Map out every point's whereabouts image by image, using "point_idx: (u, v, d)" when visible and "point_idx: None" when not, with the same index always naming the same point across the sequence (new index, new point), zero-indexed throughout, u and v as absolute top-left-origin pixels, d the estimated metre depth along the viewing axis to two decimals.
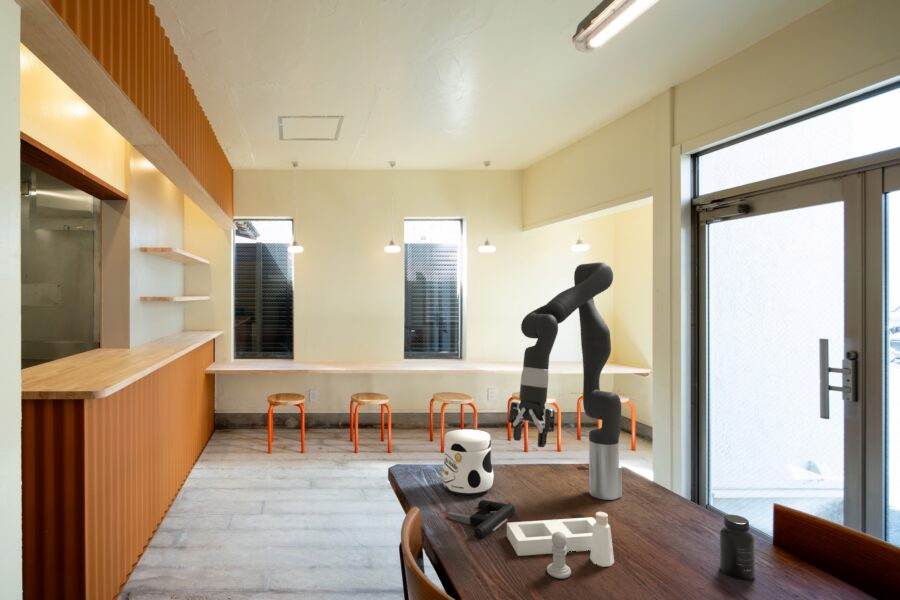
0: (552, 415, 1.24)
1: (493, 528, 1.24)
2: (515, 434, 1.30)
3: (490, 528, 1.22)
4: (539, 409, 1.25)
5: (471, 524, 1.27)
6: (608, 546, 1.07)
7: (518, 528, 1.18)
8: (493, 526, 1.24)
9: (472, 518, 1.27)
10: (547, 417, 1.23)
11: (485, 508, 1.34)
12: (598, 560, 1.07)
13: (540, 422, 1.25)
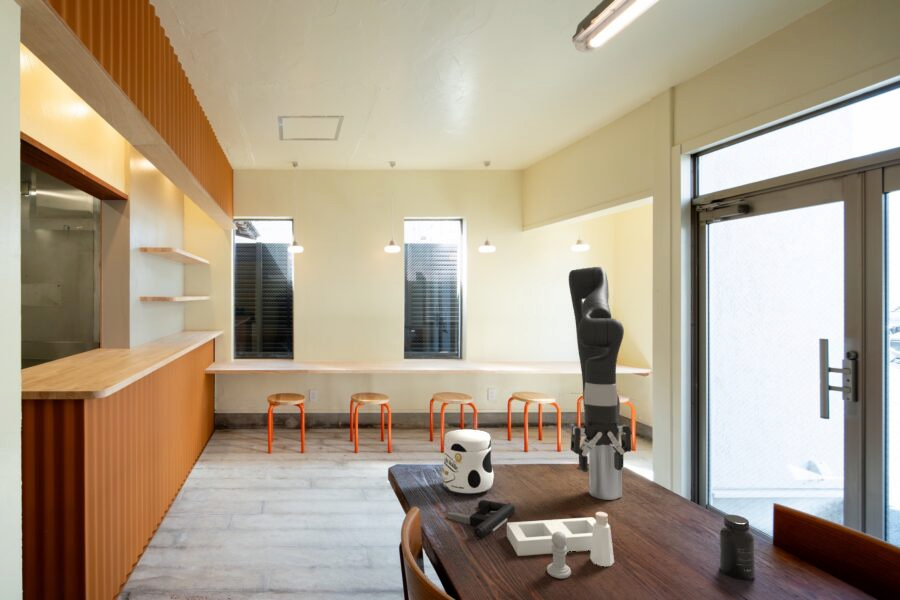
0: None
1: (493, 528, 1.24)
2: (586, 465, 1.08)
3: (490, 528, 1.22)
4: (616, 429, 1.10)
5: (471, 524, 1.27)
6: (608, 546, 1.07)
7: (518, 528, 1.18)
8: (493, 526, 1.24)
9: (472, 518, 1.27)
10: (628, 435, 1.10)
11: (485, 508, 1.34)
12: (598, 560, 1.07)
13: None
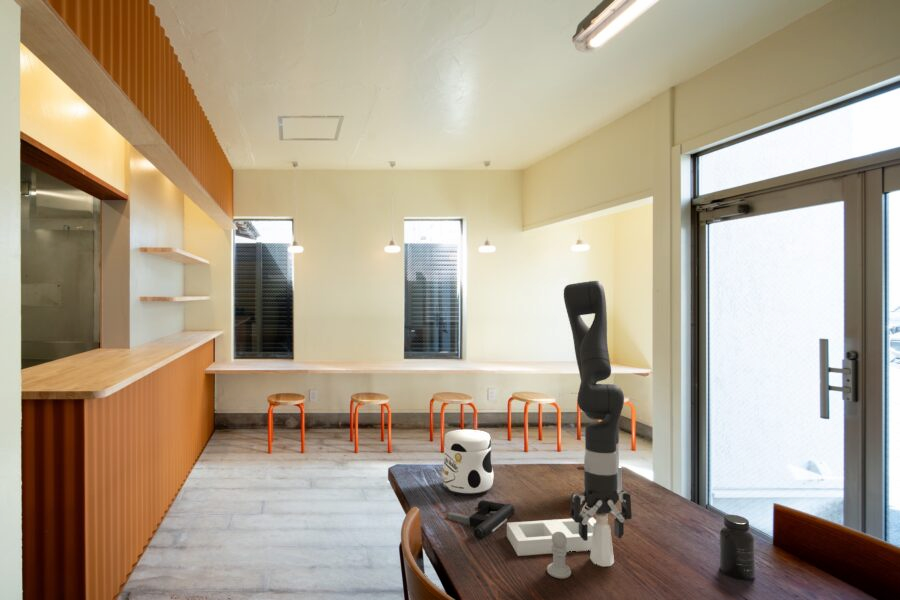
0: None
1: (492, 528, 1.24)
2: (586, 534, 1.08)
3: (489, 528, 1.22)
4: (617, 496, 1.09)
5: (470, 524, 1.27)
6: (608, 546, 1.07)
7: (518, 528, 1.18)
8: (492, 526, 1.23)
9: (471, 518, 1.27)
10: (628, 503, 1.09)
11: (485, 509, 1.34)
12: (598, 560, 1.07)
13: None
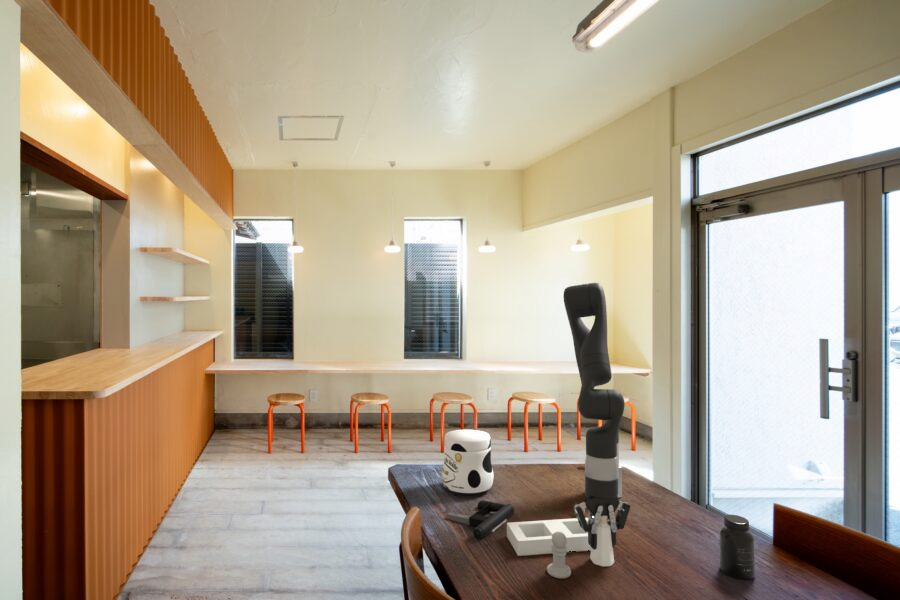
0: None
1: (492, 529, 1.23)
2: (595, 542, 1.08)
3: (489, 529, 1.22)
4: (617, 502, 1.09)
5: (470, 525, 1.27)
6: (608, 546, 1.07)
7: (518, 528, 1.18)
8: (492, 527, 1.23)
9: (471, 519, 1.26)
10: (626, 513, 1.09)
11: (485, 509, 1.34)
12: (598, 560, 1.07)
13: None
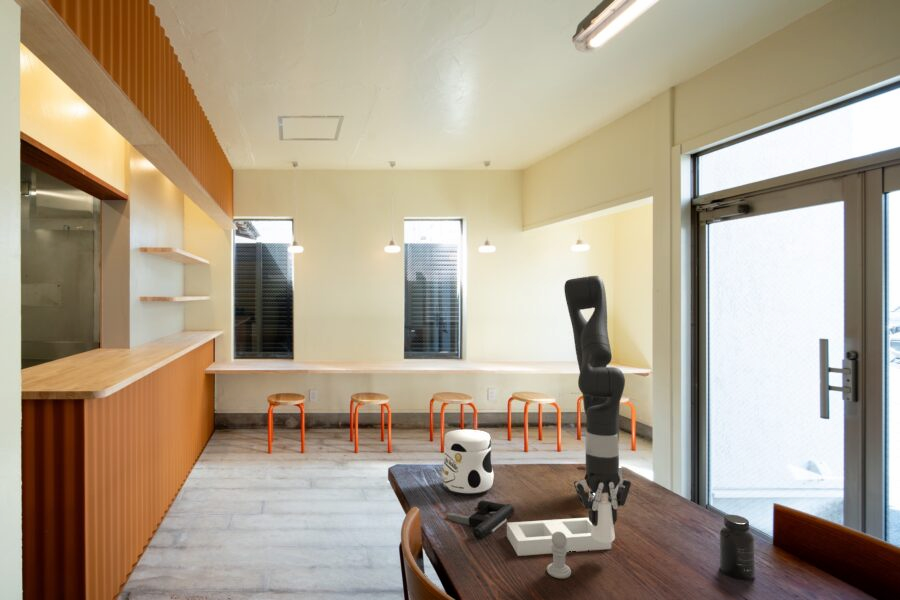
0: None
1: (492, 529, 1.23)
2: (596, 519, 1.08)
3: (489, 529, 1.22)
4: (618, 479, 1.09)
5: (470, 525, 1.26)
6: (609, 523, 1.08)
7: (518, 528, 1.18)
8: (492, 527, 1.23)
9: (471, 519, 1.26)
10: (626, 490, 1.09)
11: (484, 509, 1.34)
12: (599, 536, 1.08)
13: None
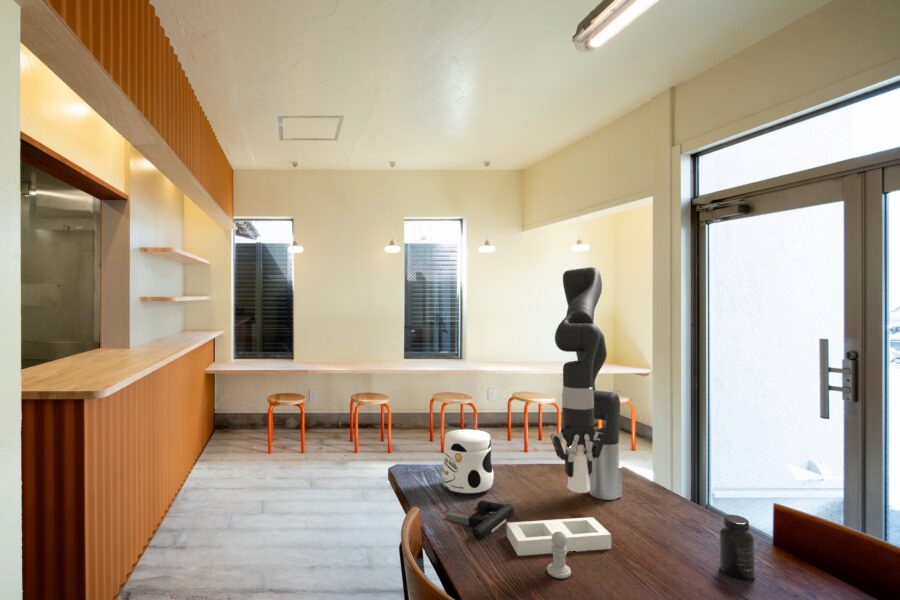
0: None
1: (491, 529, 1.23)
2: (572, 470, 1.11)
3: (488, 529, 1.22)
4: (593, 432, 1.12)
5: (469, 525, 1.26)
6: (584, 473, 1.10)
7: (518, 528, 1.18)
8: (491, 527, 1.23)
9: (470, 519, 1.26)
10: (601, 443, 1.13)
11: (484, 509, 1.34)
12: (575, 487, 1.10)
13: None
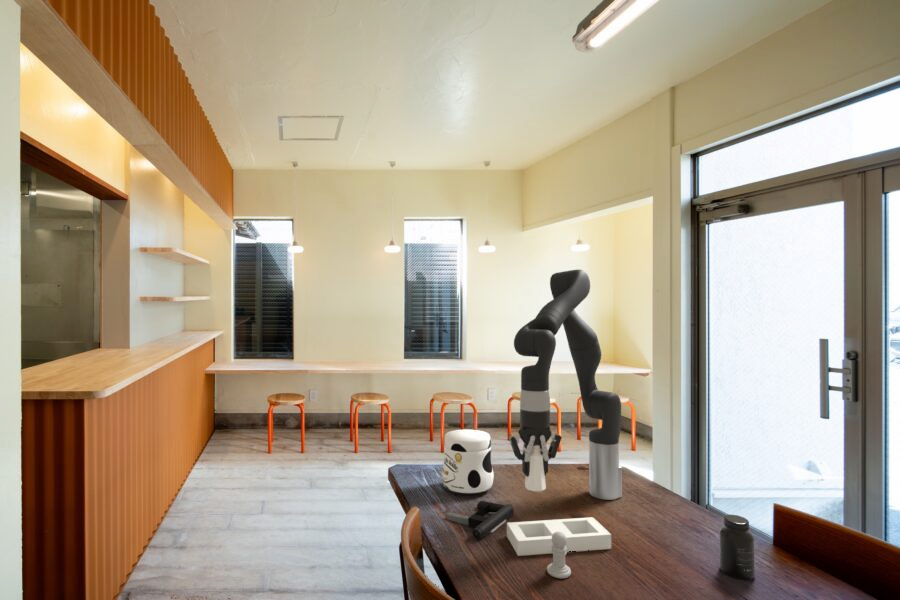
0: None
1: (491, 529, 1.23)
2: (528, 470, 1.16)
3: (488, 529, 1.21)
4: (549, 433, 1.18)
5: (469, 525, 1.26)
6: (540, 473, 1.16)
7: (518, 528, 1.18)
8: (491, 527, 1.23)
9: (470, 519, 1.26)
10: (557, 444, 1.18)
11: (484, 509, 1.34)
12: (530, 486, 1.16)
13: None
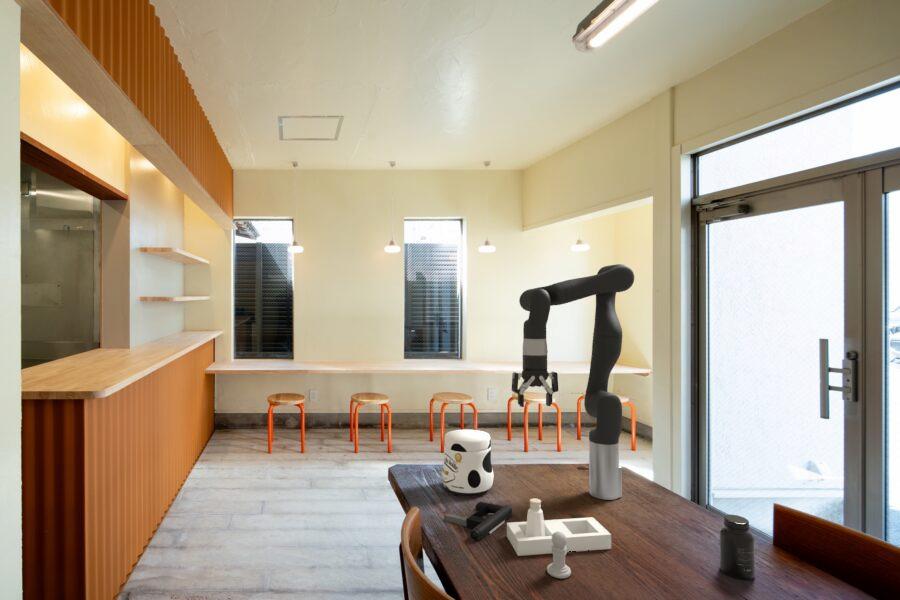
0: None
1: (489, 530, 1.22)
2: (523, 401, 1.40)
3: (486, 530, 1.21)
4: (547, 374, 1.42)
5: (467, 526, 1.26)
6: (540, 530, 1.15)
7: (518, 528, 1.18)
8: (489, 528, 1.22)
9: (468, 520, 1.25)
10: (556, 379, 1.42)
11: (482, 510, 1.33)
12: None
13: None
